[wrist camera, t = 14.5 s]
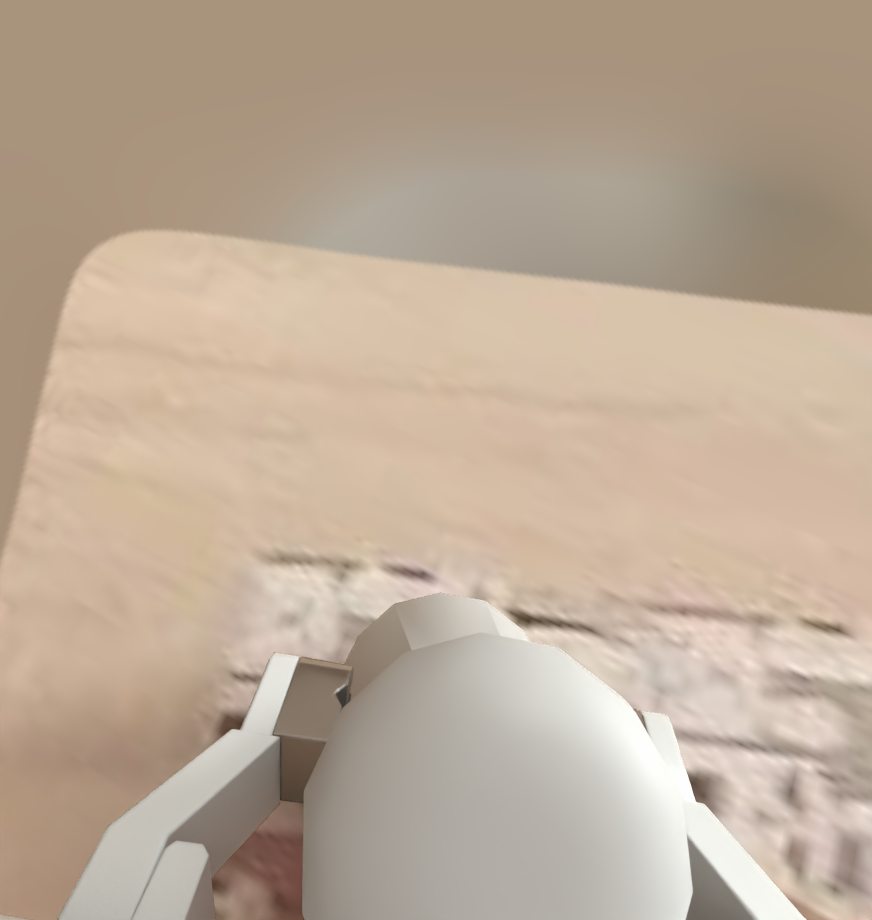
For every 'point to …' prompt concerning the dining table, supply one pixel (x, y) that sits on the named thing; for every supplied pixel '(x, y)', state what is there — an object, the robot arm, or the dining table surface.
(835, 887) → the dining table surface
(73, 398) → the dining table surface
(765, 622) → the dining table surface
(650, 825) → the salt shaker
